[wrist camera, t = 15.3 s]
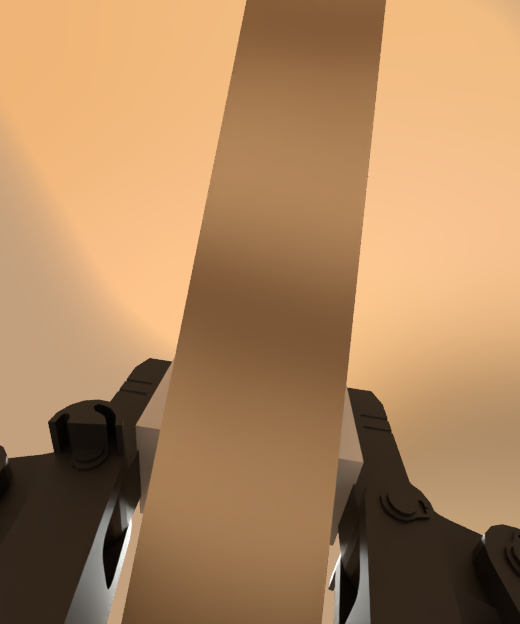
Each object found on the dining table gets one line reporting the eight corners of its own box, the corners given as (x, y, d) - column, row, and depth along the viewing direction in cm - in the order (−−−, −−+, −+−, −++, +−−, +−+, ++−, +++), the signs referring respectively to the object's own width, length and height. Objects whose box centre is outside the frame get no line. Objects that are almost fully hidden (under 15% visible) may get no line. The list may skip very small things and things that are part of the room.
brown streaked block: (285, 640, 8) (302, 804, 5) (155, 617, 8) (92, 766, 5) (390, -238, 13) (428, -412, 10) (315, -247, 13) (331, -422, 10)
